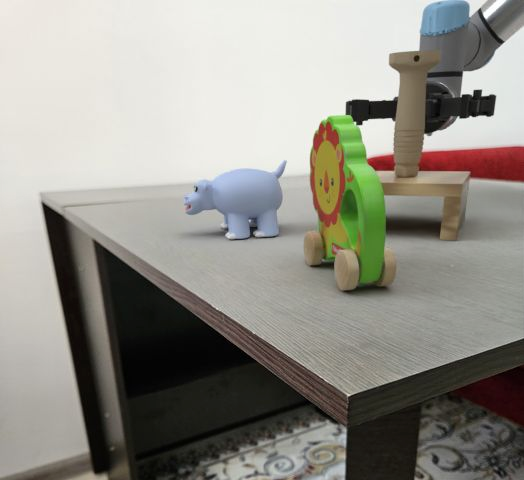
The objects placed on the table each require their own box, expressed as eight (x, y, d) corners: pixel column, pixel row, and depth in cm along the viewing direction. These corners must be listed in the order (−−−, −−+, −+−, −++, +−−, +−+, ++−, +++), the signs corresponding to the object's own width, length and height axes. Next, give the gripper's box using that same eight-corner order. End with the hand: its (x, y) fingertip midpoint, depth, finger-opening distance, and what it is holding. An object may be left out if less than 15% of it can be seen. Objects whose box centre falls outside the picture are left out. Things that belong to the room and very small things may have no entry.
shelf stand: (464, 220, 78) (470, 171, 75) (456, 240, 67) (462, 183, 64) (359, 216, 84) (361, 170, 81) (334, 234, 73) (335, 181, 70)
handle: (432, 177, 70) (444, 49, 64) (383, 178, 71) (390, 52, 65) (427, 173, 74) (438, 53, 68) (381, 174, 75) (387, 56, 69)
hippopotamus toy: (185, 228, 80) (179, 162, 76) (281, 221, 82) (280, 157, 78) (187, 243, 70) (180, 169, 66) (296, 235, 72) (295, 163, 68)
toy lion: (399, 291, 49) (412, 113, 43) (344, 297, 48) (349, 115, 42) (338, 252, 63) (342, 114, 57) (295, 256, 62) (294, 116, 56)
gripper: (510, 131, 81) (509, 138, 63) (352, 134, 90) (313, 142, 73) (518, 76, 78) (520, 68, 60) (354, 86, 87) (313, 81, 69)
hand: (406, 108), depth 66 cm, fingers open, 13 cm apart
